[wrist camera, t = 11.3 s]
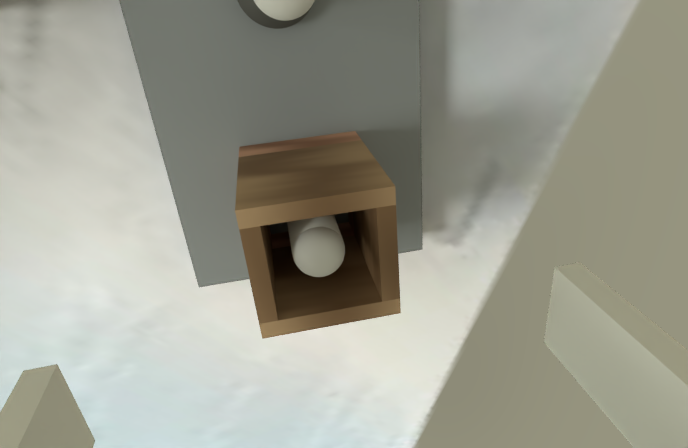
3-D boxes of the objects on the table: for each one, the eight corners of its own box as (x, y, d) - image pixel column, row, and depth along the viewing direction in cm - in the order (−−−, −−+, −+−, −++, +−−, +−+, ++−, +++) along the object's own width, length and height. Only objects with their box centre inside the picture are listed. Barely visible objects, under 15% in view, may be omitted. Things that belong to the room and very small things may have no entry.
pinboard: (201, 271, 26) (181, 388, 18) (91, -136, 18) (-27, -227, 10) (414, 236, 27) (476, 331, 20) (405, -157, 19) (506, -251, 11)
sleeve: (259, 248, 24) (262, 338, 18) (239, 146, 22) (235, 210, 15) (362, 231, 25) (400, 313, 19) (355, 130, 22) (395, 185, 16)
